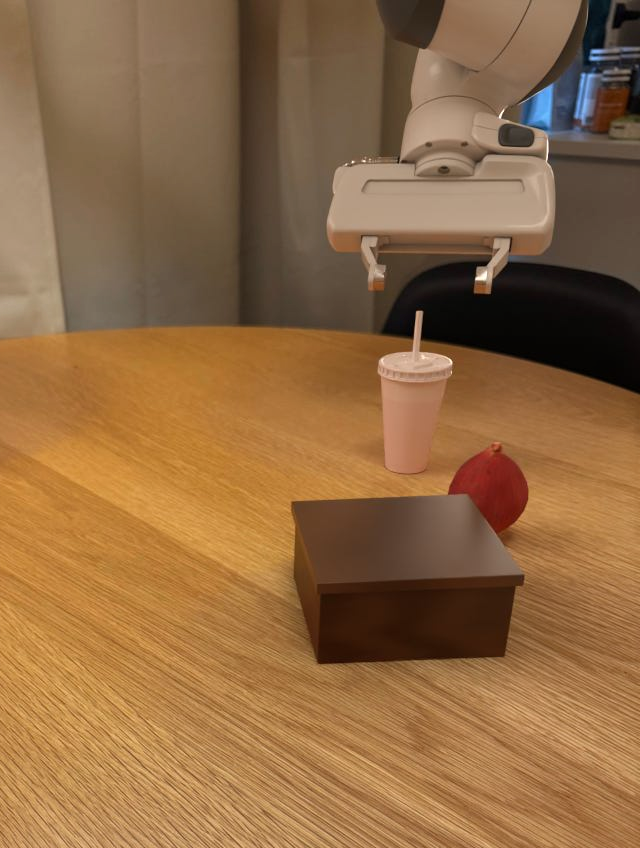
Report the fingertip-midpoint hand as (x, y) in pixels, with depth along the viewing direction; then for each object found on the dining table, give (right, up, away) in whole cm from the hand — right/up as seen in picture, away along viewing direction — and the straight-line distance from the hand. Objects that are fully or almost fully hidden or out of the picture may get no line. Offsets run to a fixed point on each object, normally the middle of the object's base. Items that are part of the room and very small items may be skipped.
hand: (428, 288), depth 91 cm
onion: (+1, -24, -12) cm, 27 cm away
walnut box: (-8, -30, -22) cm, 38 cm away
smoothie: (-2, -16, +1) cm, 16 cm away
